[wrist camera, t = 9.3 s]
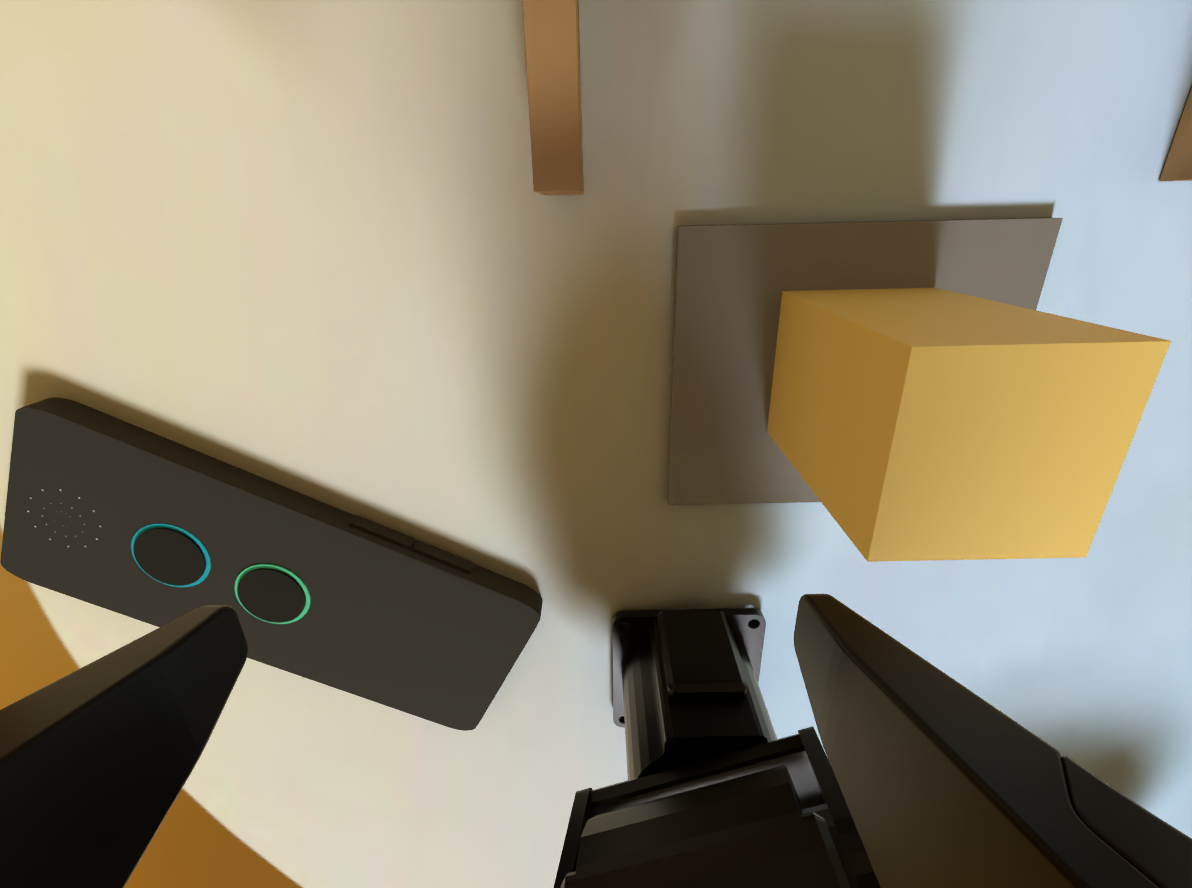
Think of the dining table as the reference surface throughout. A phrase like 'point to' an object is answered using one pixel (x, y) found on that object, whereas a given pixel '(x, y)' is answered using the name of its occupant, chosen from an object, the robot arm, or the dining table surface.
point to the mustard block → (956, 420)
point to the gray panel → (751, 318)
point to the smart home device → (257, 565)
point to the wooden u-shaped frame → (560, 102)
